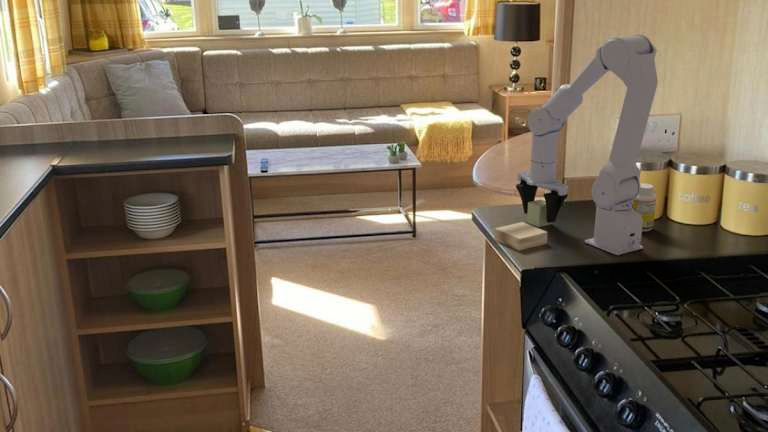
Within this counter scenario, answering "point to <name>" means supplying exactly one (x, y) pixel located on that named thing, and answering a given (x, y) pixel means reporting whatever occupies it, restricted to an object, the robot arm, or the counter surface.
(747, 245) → the counter surface
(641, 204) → the supplement bottle
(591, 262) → the counter surface
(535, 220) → the sage block
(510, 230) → the birch base
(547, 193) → the robot arm
